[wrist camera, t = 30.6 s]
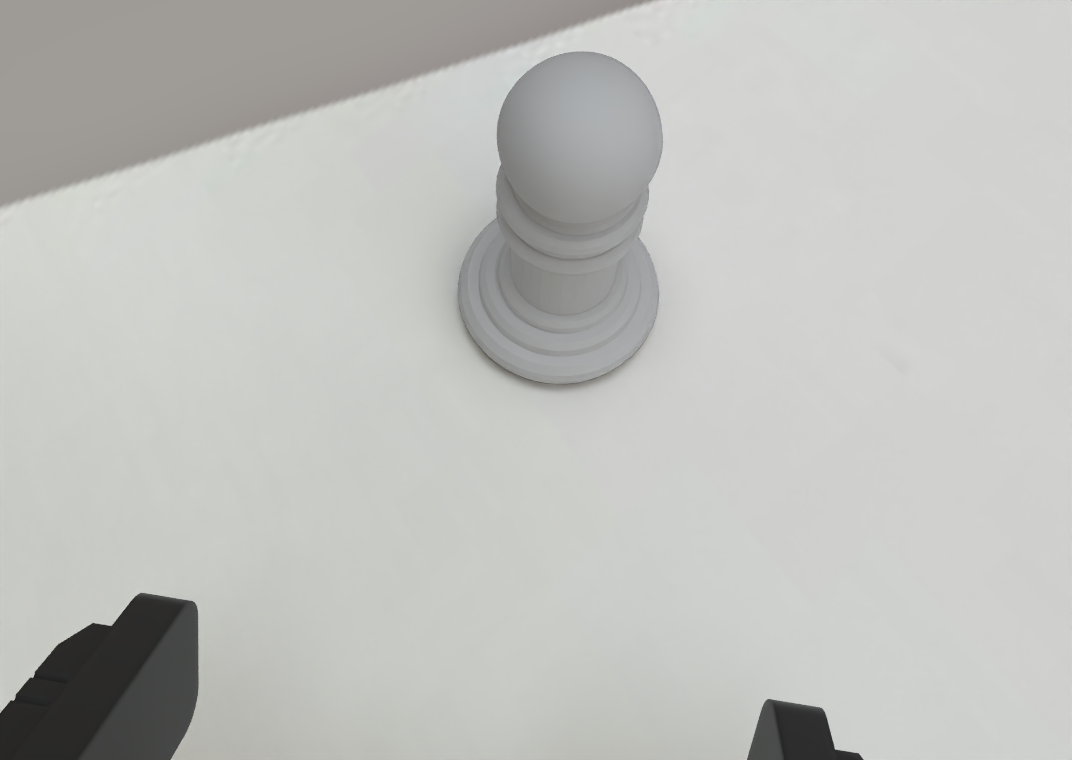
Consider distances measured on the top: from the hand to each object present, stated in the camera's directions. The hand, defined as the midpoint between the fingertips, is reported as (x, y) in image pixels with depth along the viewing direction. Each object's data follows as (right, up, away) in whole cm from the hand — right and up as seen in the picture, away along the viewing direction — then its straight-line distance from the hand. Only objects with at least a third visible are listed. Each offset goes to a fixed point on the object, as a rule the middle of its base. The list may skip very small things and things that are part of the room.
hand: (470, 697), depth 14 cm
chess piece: (+2, +7, +13) cm, 15 cm away
